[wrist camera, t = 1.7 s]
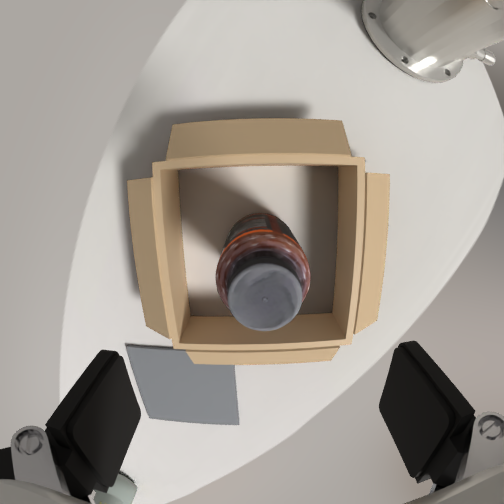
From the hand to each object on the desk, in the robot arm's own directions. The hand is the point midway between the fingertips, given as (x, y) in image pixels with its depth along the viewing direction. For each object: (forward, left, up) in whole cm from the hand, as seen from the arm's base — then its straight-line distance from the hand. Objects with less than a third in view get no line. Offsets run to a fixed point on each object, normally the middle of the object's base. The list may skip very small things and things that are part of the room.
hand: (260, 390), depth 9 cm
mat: (+9, +17, -18) cm, 26 cm away
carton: (0, 0, -18) cm, 18 cm away
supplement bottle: (0, 0, -18) cm, 18 cm away
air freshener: (+29, +47, -18) cm, 58 cm away
